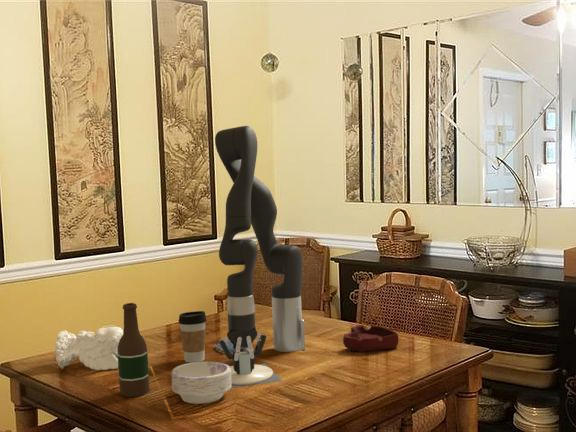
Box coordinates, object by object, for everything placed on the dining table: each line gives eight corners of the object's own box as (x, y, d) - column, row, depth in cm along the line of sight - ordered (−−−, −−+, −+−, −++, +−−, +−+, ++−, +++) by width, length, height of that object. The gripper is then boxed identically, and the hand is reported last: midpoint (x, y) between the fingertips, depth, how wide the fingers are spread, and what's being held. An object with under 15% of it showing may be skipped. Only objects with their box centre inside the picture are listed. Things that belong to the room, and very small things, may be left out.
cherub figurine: (68, 326, 222) (129, 318, 221) (74, 365, 223) (136, 357, 222) (51, 335, 209) (117, 327, 208) (58, 377, 210) (123, 368, 208)
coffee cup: (203, 365, 210) (201, 316, 209) (176, 365, 212) (173, 315, 210) (212, 357, 218) (209, 309, 217) (186, 357, 220) (183, 309, 219)
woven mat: (224, 357, 220) (224, 351, 219) (212, 349, 229) (211, 343, 229) (255, 351, 224) (255, 345, 224) (241, 344, 234) (241, 338, 234)
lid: (264, 364, 207) (263, 343, 206) (280, 380, 192) (279, 357, 191) (210, 371, 202) (209, 349, 202) (222, 388, 187) (221, 365, 186)
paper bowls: (241, 391, 186) (240, 361, 185) (217, 411, 172) (215, 379, 171) (189, 387, 191) (188, 358, 190) (161, 406, 177) (160, 375, 176)
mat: (265, 365, 208) (265, 363, 208) (282, 382, 191) (282, 380, 191) (208, 373, 202) (208, 371, 202) (220, 391, 186) (220, 389, 186)
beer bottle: (122, 388, 192) (116, 301, 189) (151, 387, 192) (146, 300, 190) (117, 398, 184) (112, 307, 182) (147, 396, 184) (142, 306, 182)
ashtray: (393, 356, 213) (393, 340, 212) (340, 353, 218) (340, 337, 217) (403, 341, 229) (403, 326, 229) (354, 338, 235) (353, 324, 234)
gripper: (262, 305, 201) (264, 365, 202) (213, 311, 197) (216, 371, 198) (269, 311, 194) (271, 372, 195) (219, 316, 190) (222, 379, 191)
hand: (243, 371), depth 197 cm, fingers closed on lid, 3 cm apart
